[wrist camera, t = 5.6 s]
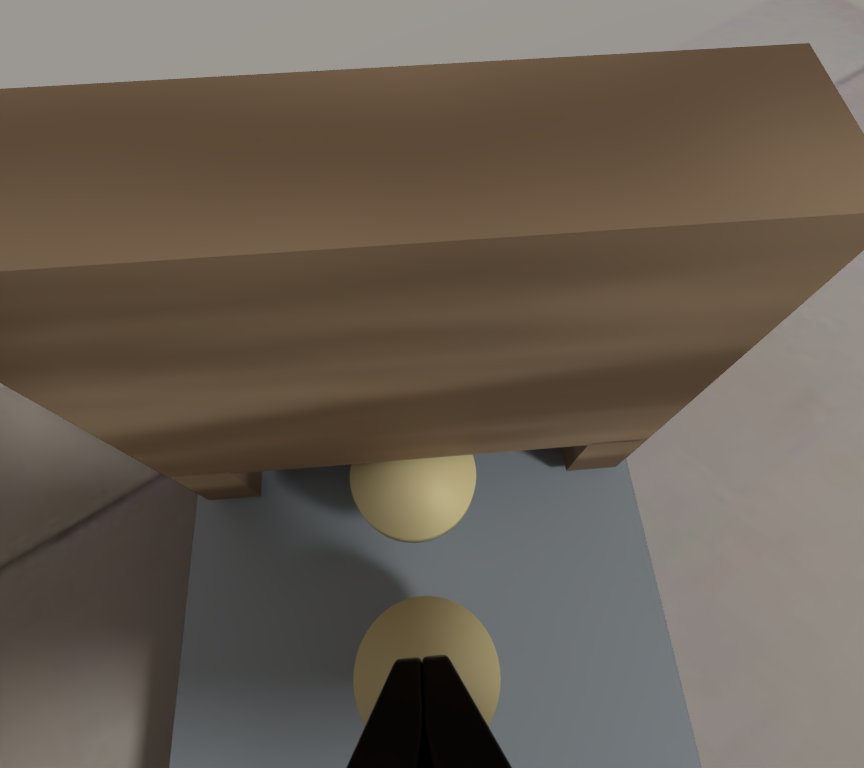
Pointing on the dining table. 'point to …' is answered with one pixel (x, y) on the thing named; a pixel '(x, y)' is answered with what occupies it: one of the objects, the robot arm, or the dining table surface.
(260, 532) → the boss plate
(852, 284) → the dining table surface
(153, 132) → the panel
